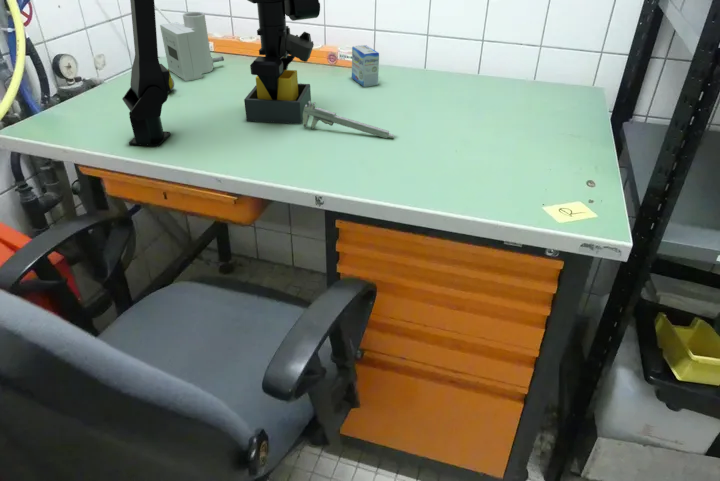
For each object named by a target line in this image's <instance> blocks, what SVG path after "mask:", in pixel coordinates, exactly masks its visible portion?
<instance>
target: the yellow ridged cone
mask: <svg viewBox="0 0 720 481" xmlns="http://www.w3.org/2000/svg"><path fill="white" fill-rule="evenodd" d="M167 70H168V71H169V72H170V73H171V71H170V70H169V69H167ZM169 87H170V89H171V92H173V90H174V88H175V81H174V79H173V77H172V74H170V77H169ZM171 92H169V91H168V94H170V93H171Z"/></svg>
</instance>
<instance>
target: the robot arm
mask: <svg viewBox="0 0 720 481" xmlns="http://www.w3.org/2000/svg"><path fill="white" fill-rule="evenodd" d="M247 1H248V2H250V3H252V4H256V6H257V17H258V28H257V30H256V35H257V36H259V37H260V48H259V50H258V55H259V56H257V57H256V58H255V59H254V60H253V61H252V62H251V63H250V65H249V66H250V67H249V68H250V75H252V76H258V77H259V78H260V80H261V81H262V83H263V85H264V86H265V88H266V90H267V91H268V93H269V95H270V97H271V98H272V99H273V100H277V96H278V83H279V77H280V76H281V75H282V74H283V73H284V71H285V70H289V65H290V64H291V63H292V61H293V60H294V59H295V58H297V59H298V60H299V61H301V62H304V63H306V62H308V61H309V59H310V58H311V54H312V51H313V48H314V46H315V45H314V41H313V40H312V37H311V33H310V32H307V31H303V32H302V33H301V34H300V35H298V34H296V35H294V34H293V33H291V28H290V27H289V25H287V18H286V17H288V18H289V19H290V21H294V22H295V21H302V20H311V19H317V18H318V17H319V15H320V12H321V2H320V0H247ZM129 3H130V12H131V23H132V35H133V46H134V59H133V63H132V67H131V74H130V87H129V88H128V89H127V91H126V93H125V94H124V96H122V101H123V103H124V104H125V106H126V107H127V109H128V110H129V112H128V115H129V122H130V125H131V128H132V133H133V138H132V139H130V140H129V142H128V144H129V145H130V146H143V147H160V146H161V145H162V144H163V143H164V142H165V141H166V140H167V139H168V138H169V137H170V136H171V132H170V131H165V130H164V128H163V123H162V118H161V116H162V115H161V114H162V110H163V105H164V104H165V102H167V100H168V97H169V93H168V91H169V92H170V93H172V91H171V89H170V87H169V77H170V75H171V71H170V70H169V69H168V68H166V67H165V65H164V64H162V63H160V60H159V52H158V35H157V21H156V7H155V0H130V2H129ZM168 70H169V71H170V72H169V71H168Z"/></svg>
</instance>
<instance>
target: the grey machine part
mask: <svg viewBox="0 0 720 481" xmlns="http://www.w3.org/2000/svg"><path fill="white" fill-rule="evenodd" d="M182 19H183V23H179V22H176V21H175V22H168V23H162V24H160V25H159V27H160V32H161V37H162V43H163V47H164V54H165V58H166V64H167V69H168V70H169V71H170V73H173V74H174V75H176V76H177V77H179V79H182V80H183V81H184V82H188V81H195V80H198V79H203V74H207V73H210V72H212V71H213V70H214V67H215V66H214V64H215V63H218V62H224V61H225V58H224V56H217V57H212V55H211V48H210V42H209V41H210V40H209V34H208V27H207V21H206V15H205V12H202V11H189V12H184V13H182Z"/></svg>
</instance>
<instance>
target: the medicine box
mask: <svg viewBox="0 0 720 481" xmlns="http://www.w3.org/2000/svg"><path fill="white" fill-rule="evenodd" d="M379 69H380V53H379V51H377V50H375V49H373V48H372V47H370V46H368V45H367V44H366V45H365V44H364V45H363V44H361V45H353V46H352V47H351V79H352V80H353V81H354V82H356V83H358V84H359V85H361V86H362V87H363V88H366V87H375V86H379Z"/></svg>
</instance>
